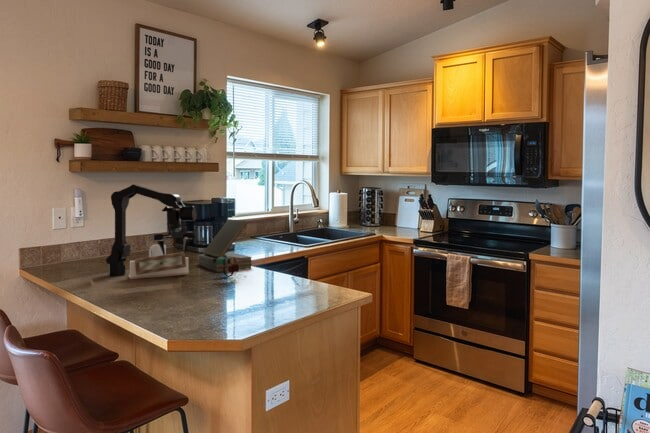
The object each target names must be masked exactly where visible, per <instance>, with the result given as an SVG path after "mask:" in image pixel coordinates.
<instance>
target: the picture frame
mask: <svg viewBox="0 0 650 433" xmlns="http://www.w3.org/2000/svg"><path fill="white" fill-rule="evenodd" d="M185 257H186V252H183V251H181V252H175V253H169V254H168V253H166V255H160V256H153V257H152V256H151V257H149V256H148V257H141V258H135V259H134V261H135V266H136V275H140V274H146V273H152V272H158V271H165V270H171V269H177V268H183V267H186V261H185Z"/></svg>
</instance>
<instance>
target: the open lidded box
mask: <svg viewBox="0 0 650 433" xmlns="http://www.w3.org/2000/svg"><path fill="white" fill-rule="evenodd" d="M247 225H248V223H247V222H246V221H245V220H239V219H238V220H237V219H230V218H229V219H227V221H225V223H224V224H223V226H221V228H220V230H219V231H218V233H217V234H216V235H215V236H214V237H213V239H212V241H211V242H210V243H209V244H208V245H207V247H206V248H205V250H204V251H203V254H198V265H199V266H202V267H204V268H206V269H208V270H210V271H214V272H216V273H217V272H218V273H224V272H223V267H222V266H227V267H226V268H225V272H229V271H228V268H229V266H232V265H231V264H228V265H223V264H217V262H216V263H214V262H213V259H214V258H216V259H218V258H219V257H223V256H224V255H226V256H227V257H231V256H232V257H235V258H236V257H239V262H238V266H239V269H242V270H247V269H246V268H249V269H252V266H253V264H252V262H253V261H252V256H248V255H245V254H239V253H237V252H228V251H229V250H230V248H231V247H232V246H233V244H234V242H235V241H236V240H237V239H238V237H239V236H240V234H241V233H242V232H243V230H244V229H245V228H246V227H247ZM234 264H237V263H234Z"/></svg>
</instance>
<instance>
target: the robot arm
mask: <svg viewBox="0 0 650 433" xmlns="http://www.w3.org/2000/svg"><path fill="white" fill-rule="evenodd" d="M137 194H138V195H140V196H144V197H147V198H150V199H152V200H153V199H154V200H156V201H159V202H160V203H161V204H163V205H165V206H164V208H162V209H161V212H166V234H163V233H161V232H160V233H159V232H157V233H155V232H154V233H152V234H151V240H152V241H154V242H156V243H157V244H159V246H160V248H161V250H162V253H163V255H165V250H164V244H165V240H164V239H177V238H181V239H183V247H182V248H183V251H182V252H185V253H187V250H188V246H189V244H190V242H191V241H193V240H194V239H195V238H196V233H195V232H194V231H188V228H187V226H181V222H180V220H181V221H182V222H195V221H196V220H197V211H196V210H197V209H196V208H195V206H194V205H191V206H186V205H185V204H184V203H183V201H182V199H181V197H180V195H179V194H177V193H169V192H161V191H159V190H154V189H151V188H148V187H145V186H141V185H140V184H131V185H130V186H128V187H125V188H123V189H121V190H117V191H114V192H112V193H111V194H110V195H111V196H110V200H111V205H112V208H113V210H114V242H113V243H112V247H111V251H110V254H109V256H107V258H105V262H106V264H108V277H109V278H110V277H124V276H126V265H125V263H124V262H126V261H127V258H128V257H129V256H130V253H131V244H130V243H128V242H127V240H126V239H127V237H126V236H127V234H126V232H127V230H126V229H127V228H126V226H127V223H126V222H127V217H126V216H127V214H126V213H127V208H128V206H129V203H130V199H132V198H133V197H135V196H136V195H137Z"/></svg>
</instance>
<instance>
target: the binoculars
mask: <svg viewBox="0 0 650 433" xmlns="http://www.w3.org/2000/svg"><path fill="white" fill-rule="evenodd" d="M213 262H214V263H216V262H217V264H223V265H228V264H231V265H232V266H229V268H228V271H225V268H226V267H227V266H222V267H223V272H222V273H223V275H225V276H226V277H233V275H234V273H237V272H239V271H240V270H239V266H238V262H239V257H236V258H235V257H232V256H231V257H227V256H226V255H224V256H223V257H219V258H218V259H216V258H214V259H213ZM234 263H237V264H234ZM227 272H228V273H229V274H230V275H228V274H227Z"/></svg>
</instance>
